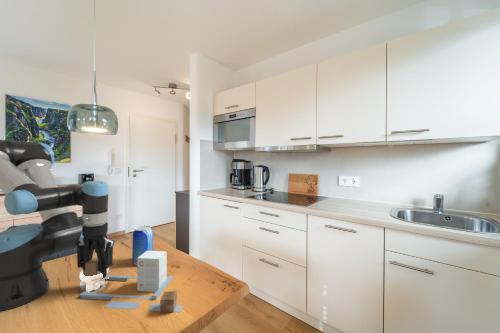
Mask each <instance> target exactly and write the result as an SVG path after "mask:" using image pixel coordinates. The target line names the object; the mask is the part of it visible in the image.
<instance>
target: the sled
mask: <svg viewBox="0 0 500 333" xmlns="http://www.w3.org/2000/svg"><path fill="white" fill-rule="evenodd" d="M98 270H99V263H98V258H97V257H94V258H93V257H92V260H90V261H88V262H87V263H85V276H93V275H97V271H98ZM108 275H109V276H108V277H109V280H108V281H116V282H117V281H120V282H121V281H122V282H123V281H124V282H127V280H128V279H136V280H137V276H129V275H114V274H113V275H112V274H108ZM172 280H173V275H168V276H167V279H166V280H165V282H164V283H163V284H162V285H161V286H160V288H159V289H158V290H157V291H156V292H154V294H153V295H152V296H145V295H143V296H142V295H126V294H113V293H112V294H111V293H97V292H90V293H88V292H85V291H86V290H84V291H82V292H81V293H80V294H79V295H78V298H79V299H87V300H101V301H102V300H104V301H112V299H113V298H124V299H125V298H126V299H140V300H142V299H143V300H152V301H153V300H157V299H159V297H160V295H161V294H162V293H164V290H165V289H166V288H167V286H168V285H169V283H171V281H172Z"/></svg>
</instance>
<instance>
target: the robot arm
mask: <svg viewBox="0 0 500 333" xmlns="http://www.w3.org/2000/svg"><path fill="white" fill-rule="evenodd" d="M54 164H55V152H54V150H53V149H52V147H51V146H50V145H48V144H47V143H44V142H37V141H22V140H21V141H19V140H9V139H0V191H1V192H2V193H3V194H5V197H4V202H3V204H4V208H5V209H6V210H5V211H6V212H7V214H9V215H13V216H18V215H30V214H33V213H39V215H40V218H41V220H42V221H41V222H40V223H28V224H21V225H18V226H14V227H11V228H8V229H5V230H2V231H1V232H0V312H1V311H2V312H3V311H7V310H11V309H15V308H17V307H21V306H23V305H26V304H28V303H30V302H33V301H34V300H37V299H38V298H40V297H41V296H43V295H44V294H46V293H47V292H48V291H49V288H50V280H49V278H48V276H47V274H46V272H45V270H44V269H43V268H44V267H43V260H44V259H46V258H49V257H53V256H55V255H58V254H62V253H64V252H67V251H70V250H74V249H76V255H77V256H76V258H77V259H76V260H77V263H76V264H77V268H81V269H82V271H83V274H84V275H85V263H87V262H88V261H90V260H92V259H93V256H94V253H96V258H98V263H99V270H98V271H97V274H100V273H102V274H103V278H105V277H106V276H107V275H108V273H107V272H108V271H107V270H108V269H109V268H111V267H112V266H113V259H114V258H113V253H114V246H115V242H116V241H115V240H114V239H112V240H110V239H108V238H109V237H108V236H107V234H108V230H109V228H108V225H109V223H108V221H109V211H108V208H109V187H108V183H107V181H105V180H103V181H101V180H92V181H90V180H89V181H85V182H83V183H82V184H76V183H75V184H67V185H64V186H58V184H57V182H56V180H55V178H54V175H53V173H52V171H51V168H52V167H53V165H54ZM73 206H74V207H75V206H80V207H82V209H81V213H82V215H81V217H79V216H78V214H77V213H76V212H77V211H74V210H70V208H69V207H73ZM83 274H82V275H83ZM103 278H102V279H103Z"/></svg>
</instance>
